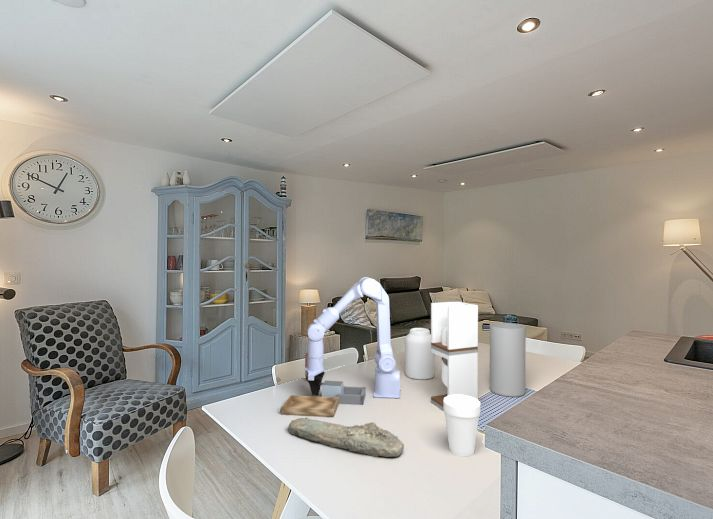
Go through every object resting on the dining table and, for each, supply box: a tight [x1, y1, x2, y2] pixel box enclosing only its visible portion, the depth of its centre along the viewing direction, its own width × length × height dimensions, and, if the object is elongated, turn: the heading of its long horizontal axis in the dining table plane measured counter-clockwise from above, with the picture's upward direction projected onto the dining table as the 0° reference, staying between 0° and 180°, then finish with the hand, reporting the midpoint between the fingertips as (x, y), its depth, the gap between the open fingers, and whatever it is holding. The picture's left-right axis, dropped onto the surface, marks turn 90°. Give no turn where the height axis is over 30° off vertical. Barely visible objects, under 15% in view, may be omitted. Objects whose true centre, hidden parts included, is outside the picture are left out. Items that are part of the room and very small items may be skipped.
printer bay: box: [336, 385, 367, 406], centre depth 131 cm, size 10×8×3 cm
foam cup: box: [443, 395, 481, 457], centre depth 97 cm, size 10×9×13 cm
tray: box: [280, 394, 340, 418], centre depth 123 cm, size 17×10×2 cm, turn 83°
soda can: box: [304, 350, 308, 381], centre depth 152 cm, size 7×7×12 cm
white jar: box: [404, 327, 436, 381], centre depth 157 cm, size 12×12×20 cm
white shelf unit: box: [430, 301, 479, 413], centre depth 125 cm, size 11×11×35 cm
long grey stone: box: [288, 417, 405, 458], centre depth 102 cm, size 35×5×10 cm
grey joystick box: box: [314, 380, 345, 397], centre depth 132 cm, size 10×4×6 cm, turn 80°
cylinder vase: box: [489, 322, 527, 398], centre depth 139 cm, size 12×12×25 cm
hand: (315, 393), depth 133 cm, fingers closed on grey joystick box, 2 cm apart
